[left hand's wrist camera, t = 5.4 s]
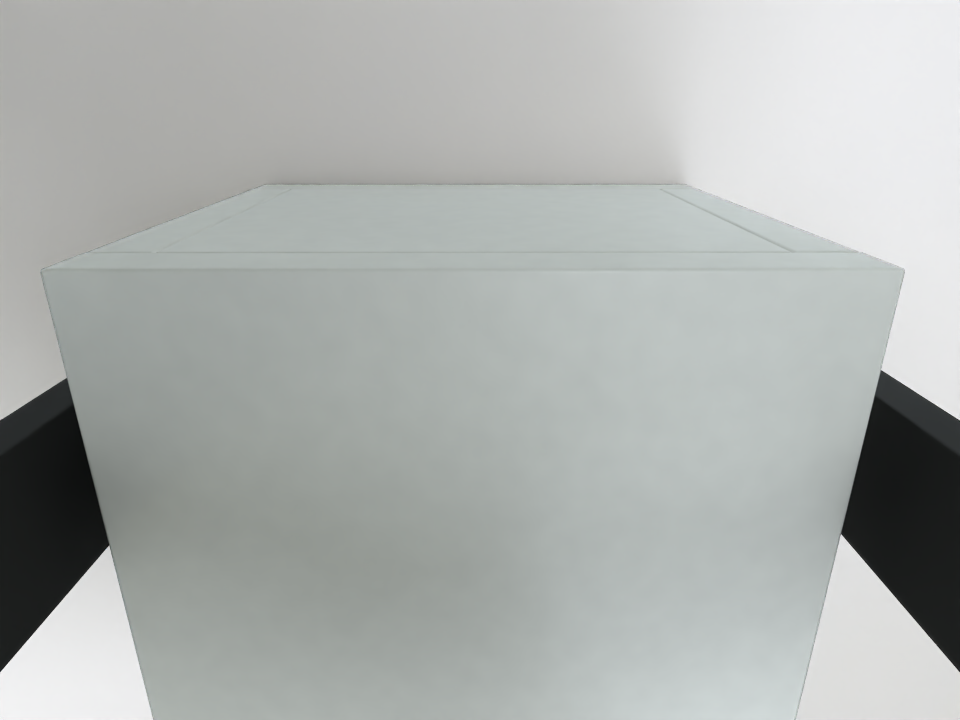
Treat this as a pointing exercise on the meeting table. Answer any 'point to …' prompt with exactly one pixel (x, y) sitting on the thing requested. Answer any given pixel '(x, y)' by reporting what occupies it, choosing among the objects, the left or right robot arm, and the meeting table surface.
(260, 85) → the meeting table surface
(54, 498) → the left robot arm
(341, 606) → the cabinet
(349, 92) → the meeting table surface
